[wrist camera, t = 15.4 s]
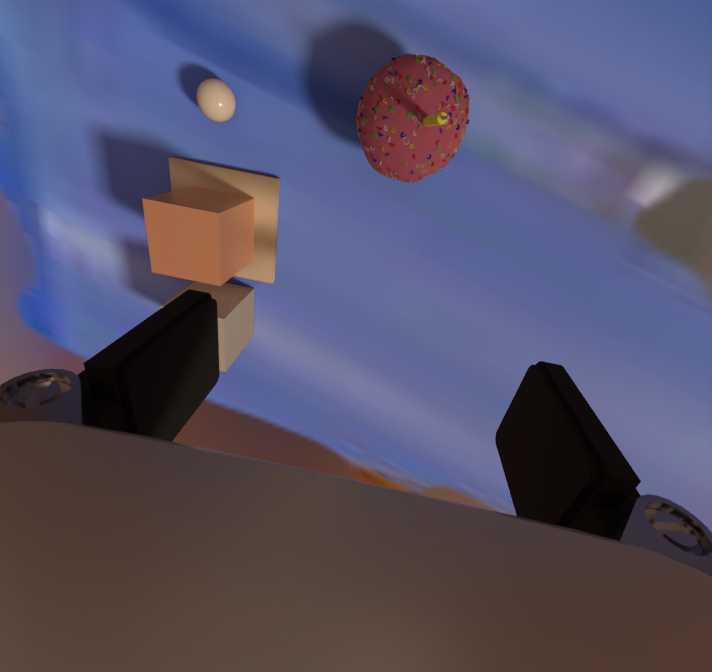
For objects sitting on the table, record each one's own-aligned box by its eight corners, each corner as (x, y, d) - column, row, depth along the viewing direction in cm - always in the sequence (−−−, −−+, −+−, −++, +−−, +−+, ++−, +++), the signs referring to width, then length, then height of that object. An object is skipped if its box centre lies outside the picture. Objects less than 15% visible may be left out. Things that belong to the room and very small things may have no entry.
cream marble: (206, 77, 32) (187, 72, 29) (241, 84, 32) (226, 79, 29) (208, 119, 33) (190, 117, 31) (241, 125, 33) (226, 124, 31)
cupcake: (464, 60, 29) (496, 18, 19) (456, 174, 33) (479, 191, 23) (359, 70, 30) (335, 36, 20) (364, 179, 34) (346, 198, 24)
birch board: (171, 157, 36) (168, 157, 35) (279, 178, 35) (278, 179, 35) (180, 262, 41) (178, 264, 41) (274, 281, 41) (272, 283, 40)
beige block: (200, 277, 42) (159, 305, 35) (254, 288, 41) (224, 318, 35) (203, 325, 45) (166, 359, 38) (253, 335, 45) (225, 372, 38)
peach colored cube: (192, 186, 36) (142, 198, 29) (254, 198, 36) (218, 213, 29) (196, 248, 39) (151, 272, 32) (253, 259, 39) (220, 286, 32)
